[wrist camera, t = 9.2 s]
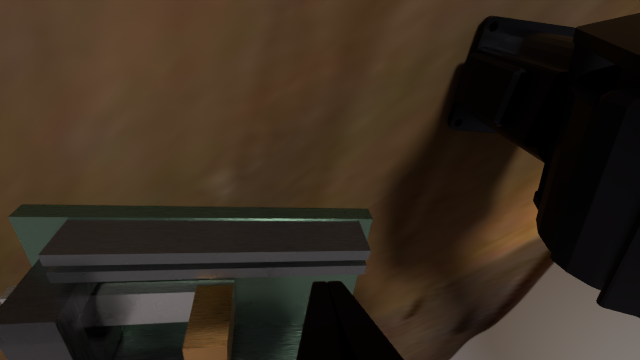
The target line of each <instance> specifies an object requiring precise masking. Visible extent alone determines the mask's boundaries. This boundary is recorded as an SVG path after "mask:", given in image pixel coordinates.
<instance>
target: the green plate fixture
mask: <svg viewBox="0 0 640 360" xmlns="http://www.w3.org/2000/svg"><path fill="white" fill-rule="evenodd" d="M9 220H10V222H11V224H12V226H13V228H14V230H15V232H16V234H17V236H18V238H19V240H20V243H21V245H22V247H23V249H24V251H25V253H26V255H27V257H28V259H29V261H30V263H31V265H32V268H31V269H30V270H29V271H28V273H27V274H26V275H25V276H24V278H23V279H22V280H21V281H20V282H19V284H18V285H17V286H16V287H15V289H14V290H13V291H12V292H11V294H10V295H9V296H8V297H7V298H6V300H5V301H4V302H3V303H2V305H1V306H0V349H1V350H2V352H3V353H4V355H5V356H6V358H7V359H8V360H184V356H183V350H182V349H183V344H184V340H185V335H186V331H187V326H188V322H172V323H153V324H134V325H115V326H96V327H83V325H82V323H81V320H80V318H79V315H80V313H81V312H82V310H83V308H84V306H85V304H86V303H87V301H88V299H89V297H90V295H91V294H92V292H93V290H94V288H95V286H96V285H97V283H130V282H164V281H198V280H233V279H234V281H235V314H234V331H233V342H232V353H231V360H296V357H297V352H298V348H299V343H300V338H301V333H302V329H303V324H304V319H305V315H306V310H307V305H308V301H309V296H310V291H311V286H312V283H313V282H314V281H325V282H328V281H341V282H343V284H344V285H345V286H346V287H347V289H348V290H349V291H350V292H351V294H352V295H353V292H354V288H355V284H356V280H357V277H358V274H364V273H365V270H366V266H367V265H366V262H365V260H368V259H369V256H370V252H371V250H370V247H369V245H368V242H367V239H368V235H369V231H370V227H371V224H372V220H373V219H372V216H371V214H370V212H369V210H368V209H336V208H256V207H176V206H96V205H21V206H20V207H19V208H17V209H16V210H15V211H14V212H13V213H12V214H11V215H10V216H9Z"/></svg>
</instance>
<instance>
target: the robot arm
mask: <svg viewBox="0 0 640 360" xmlns="http://www.w3.org/2000/svg"><path fill="white" fill-rule="evenodd" d="M492 22H493V23H494V25H493V28H492V29H491V30H489V26H490V24H491V23H492ZM457 119H459V121H458V123H456V124H454V123H455V121H456V120H457ZM448 126H449V127H451V128H452V129H453V130H460V131H476V132H491V133H499V134H501V135H502V136H504V137H505V138H507V139H508V140H510V141H511V142H513V143H514V144H516V145H517V146H519V147H521V148H522V149H524V150H525V151H527V152H528V153H530V154H531V155H533V156H534V157H536V158H537V159H539V160H541V161H542V162H544V163H545V164H544V168H543V172H542V176H541V180H540V184H539V188H538V191H536V192H535V195H534V199H533V202H534V204H535V205H536V207H537V209H538V214H537V218H536V222H537V230H538V234H539V236H540V237H541V239H542V240H543V242H544V243H545V245H546V246H547V248H548V249H549V250H550V251H551V252H550V258H551V259H552V260H553V261H554V262H555V263H556V264H557V265H559V266H560V267H561V268H562V269H564V270H565V271H566V272H567V273H569V274H571V275H572V276H574V277H576V278H577V279H579V280H581V281H582V282H584V283H586V284H588V285H590V286H591V287H594V288H596V289H598V290H601V292H600V294H599V296H598V298H597V300H596V301H597V303H598V304H599V306H601V307H603V308H607V309H611V310H614V311H618V312H622V313H625V314H629V315H633V316H637V317H639V318H640V13H637V14H633V15H628V16H624V17H619V18H614V19H610V20H605V21H601V22H596V23H592V24H587V25H583V26H578V27H576V28H573V27H566V26H560V25H553V24H546V23H539V22H532V21H525V20H518V19H511V18H504V17H497V16H489V17H487V18H486V19H485V20H484V21H483V22H482V24H481V27H480V29H479V32H478V35H477V38H476V41H475V44H474V47H473V50H472V52H471V55H470V56H469V58H468V60H467V63H466V66H465V69H464V72H463V75H462V78H461V80H460V83H459V86H458V89H457V92H456V95H455V101H454V104H453V107H452V110H451V113H450V116H449V118H448ZM296 360H404V359H403V358H402V357H401V355H400V354H399V353H398V352H397V350H396V349H395V348H394V347H393V345H392V344H391V343H390V342H389V340H388V339H387V338H386V337H385V335H384V334H383V333H382V331H381V330H380V329H379V328H378V326H377V325H376V324H375V323H374V321H373V320H372V319H371V318H370V316H369V315H368V314H367V313H366V311H365V310H364V309H363V308H362V306H361V305H360V304H359V303H358V301H357V300H356V299H355V297H354V296H353V295H352V294H351V292H350V291H349V290H348V289H347V287H346V286H345V285H344V284H343V282H341V281H328V282H325V281H314V282H313V283H312V286H311V291H310V296H309V301H308V305H307V310H306V315H305V319H304V324H303V329H302V333H301V338H300V343H299V348H298V352H297V357H296Z"/></svg>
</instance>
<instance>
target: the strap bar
mask: <svg viewBox="0 0 640 360" xmlns="http://www.w3.org/2000/svg"><path fill="white" fill-rule="evenodd" d="M15 287H16V286H9V288H8V289H7V290H6V291H5V292H4V294H3V295H2V296H1V297H0V302H1V303H3V302H4V301H5V300H6V298H7V297H8V296H9V295H10V294H11V292H12V291H13V290H14V289H15ZM234 314H235V281H234V279H233V280H198V281H164V282H130V283H97V285H96V286H95V288H94V290H93V292H92V294H91V295H90V297H89V299H88V301H87V303H86V304H85V306H84V308H83V310H82V312H81V313H80V315H79V318H80V320H81V323H82V325H83V327H96V326H115V325H134V324H153V323H172V322H188V326H187V331H186V335H185V340H184V344H183V349H182V350H183V356H184V360H231V353H232V342H233V331H234Z"/></svg>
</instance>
